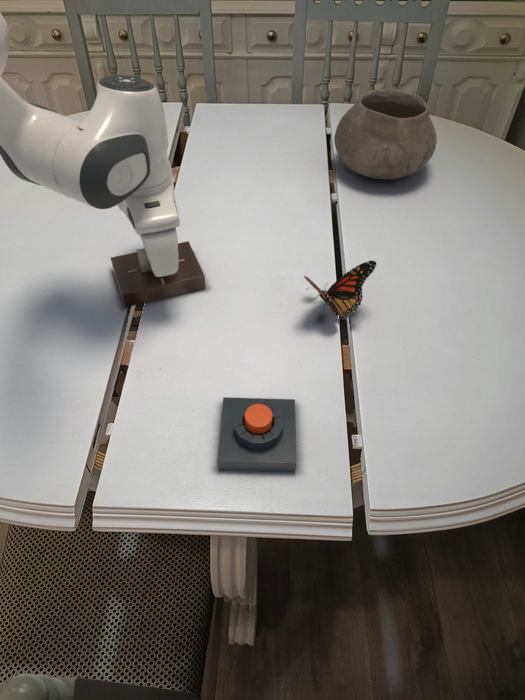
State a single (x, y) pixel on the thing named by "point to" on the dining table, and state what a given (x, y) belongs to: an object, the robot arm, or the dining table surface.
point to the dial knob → (143, 261)
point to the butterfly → (346, 290)
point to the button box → (257, 437)
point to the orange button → (258, 418)
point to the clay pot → (386, 134)
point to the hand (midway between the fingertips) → (156, 262)
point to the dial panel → (157, 278)
